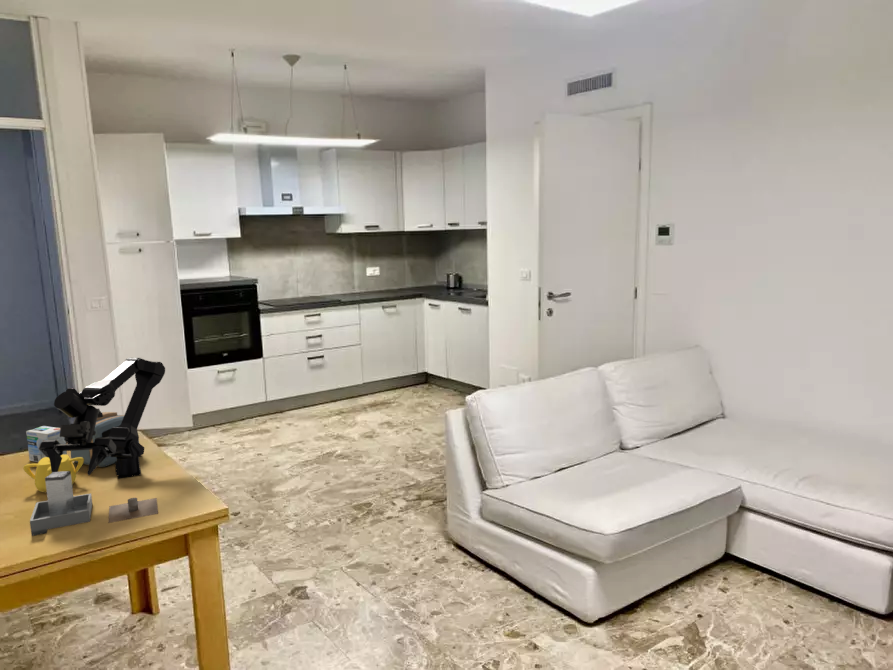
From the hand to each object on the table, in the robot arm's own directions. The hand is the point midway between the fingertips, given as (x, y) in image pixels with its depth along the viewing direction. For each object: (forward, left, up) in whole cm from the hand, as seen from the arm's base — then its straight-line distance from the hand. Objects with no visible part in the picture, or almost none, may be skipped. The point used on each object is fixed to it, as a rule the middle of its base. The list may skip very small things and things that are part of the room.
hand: (71, 475), depth 180 cm
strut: (+2, +6, -9) cm, 11 cm away
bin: (+2, +6, -10) cm, 12 cm away
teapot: (+6, -24, -10) cm, 27 cm away
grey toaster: (-7, -45, -11) cm, 47 cm away
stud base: (-15, +10, -10) cm, 21 cm away
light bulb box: (+11, -54, -10) cm, 56 cm away
